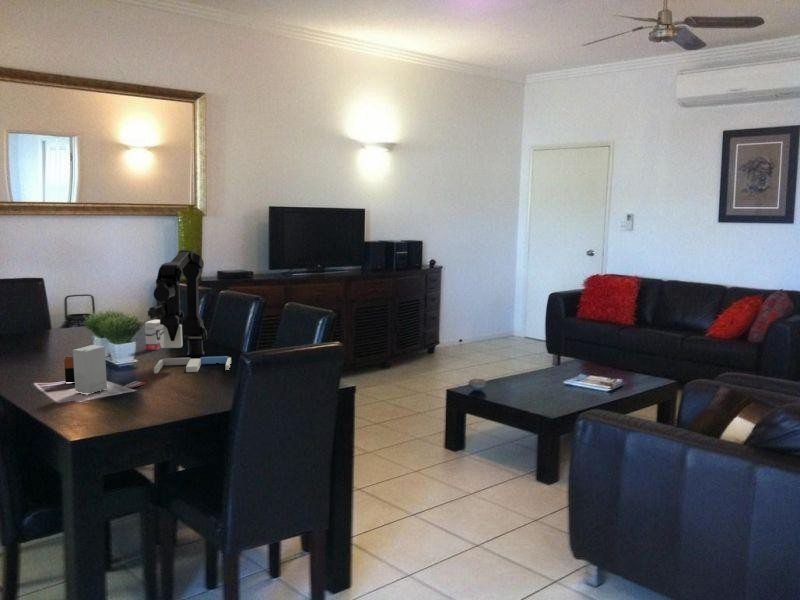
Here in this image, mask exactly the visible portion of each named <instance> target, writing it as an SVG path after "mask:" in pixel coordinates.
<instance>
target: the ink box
mask: <svg viewBox="0 0 800 600" xmlns="http://www.w3.org/2000/svg"><path fill="white" fill-rule="evenodd" d="M144 333H145V350H146V351H157V350H161V349H163V348H164V325H160V319H150V320H149V321H146V322H145V323H144ZM164 349H165V348H164Z"/></svg>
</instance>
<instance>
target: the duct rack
mask: <svg viewBox="0 0 800 600" xmlns="http://www.w3.org/2000/svg"><path fill="white" fill-rule="evenodd" d="M216 363H219V364H225V371H226V370H229V371H230V369H229V368H231V365H230V364H232V356H231V357H230V356H228V355H227V356H226V355H225V356H222V355H221V356H201V357H200V358H191V357H169V358H168V357H167V358H166V357H165V358H162V359H159V361H158V362H157V363H156V365H155V366H154V367H153V373H154V374H158V373H159V372H160V370H161V369H162V368H163V366H185V365H186V366H185V372H186V373H197V372H198V371H199V369H200V367H201V365H215V364H216ZM216 365H217V364H216Z"/></svg>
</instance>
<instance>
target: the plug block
mask: <svg viewBox="0 0 800 600" xmlns="http://www.w3.org/2000/svg"><path fill="white" fill-rule="evenodd" d="M182 326H183V324H181V325H179V328H178V331H177V334H176V337H175V340H174V341H171V340H170V336H169V333H168V330H167V328H166V327H165V326H164V349H180V348H182V347H183V345H184V344H183V336H182Z"/></svg>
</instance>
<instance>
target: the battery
mask: <svg viewBox="0 0 800 600" xmlns="http://www.w3.org/2000/svg"><path fill="white" fill-rule="evenodd" d="M63 360H64V361H63V363H64V365H63V366H64V377H65V383H66V382H75V377H74V362H73V353H72V354H70V353H69V354H66V356H65V357H64V359H63Z"/></svg>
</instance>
